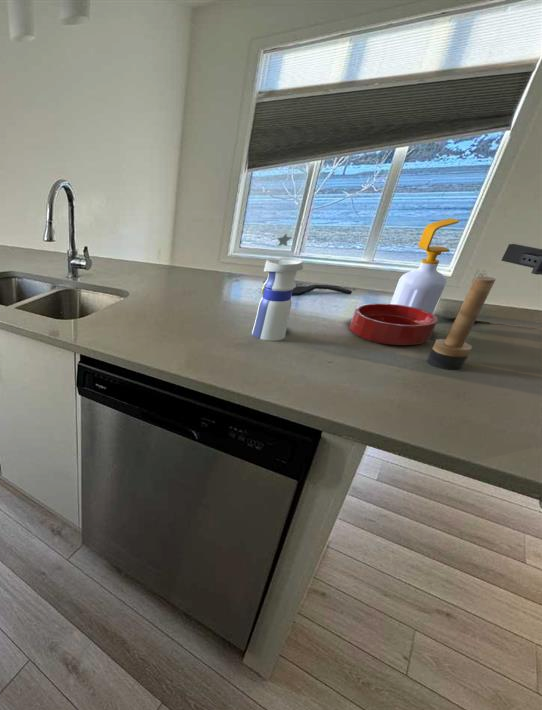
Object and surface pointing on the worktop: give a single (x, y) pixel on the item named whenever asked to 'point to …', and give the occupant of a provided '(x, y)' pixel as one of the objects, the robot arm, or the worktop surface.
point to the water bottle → (276, 297)
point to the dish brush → (461, 328)
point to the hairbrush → (304, 289)
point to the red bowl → (393, 324)
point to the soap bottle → (424, 274)
